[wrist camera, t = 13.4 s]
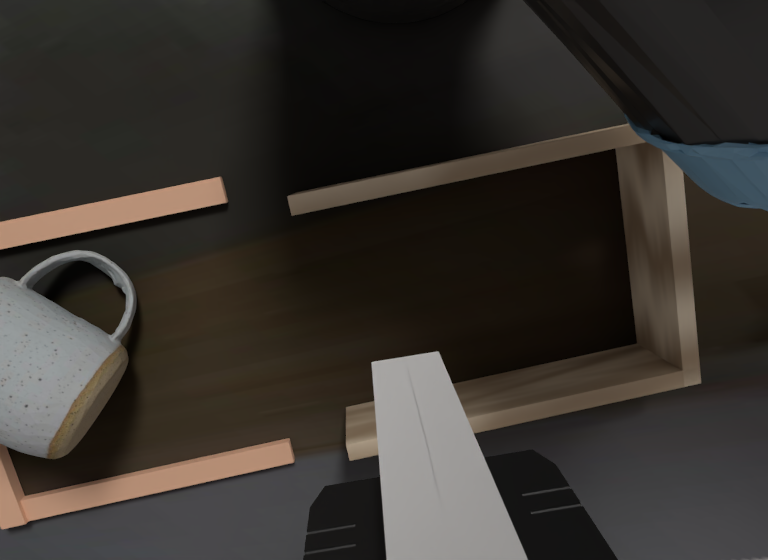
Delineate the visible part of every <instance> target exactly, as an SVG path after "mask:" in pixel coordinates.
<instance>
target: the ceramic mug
mask: <svg viewBox="0 0 768 560" xmlns="http://www.w3.org/2000/svg"><path fill="white" fill-rule="evenodd" d="M78 260H82V261H85V262H89V263H91V264H92V265H94V266H96V267H97V268H99V269H100V270H102V271H103V272H104V273H106V274H107V275H108V276H110V277H111V278H112V279H113V282H114V285H116V286H118V287H120V288H122V290H123V292H124V293H125V294H126V311H125V313H124V315H123V318H122V320H121V322H120V325H119V326H118V327H117V329H116V331H115V333H113V334H112V335H109V334H107V333H105V332H104V331H102V330H101V329H100V328H98V327H96V326H94V325H92V324H90V323H88V322H87V321H85V320H84V319H82V318H78V317H77V316H75V315H73V314H72V313H70V312H68V311H67V310H65V309H64V308H62V307H60V306H59V305H57V304H56V303H54V302H53V301H50V300H48V299H47V298H46V297H43V296H42V295H40V294H38V293H37V292H35V291H34V290H32V287H33V286H34V284H35V283H36V282H37V281H38V280H39V279H41V278H42V277H43V276H44V275H45V274H47V273H48V272H50V271H51V270H53V269H55V268H56V267H58V266H60V265H62V264H65V263H68V262H71V261H78ZM136 302H137V299H136V292H135V289H134V286H133V284H132V282H131V280H130V278H129V277H128V276H127V274H126V273H125V272H124V271H123V270H122V269H121V268H120V267H119V266H117V265H116V264H115V263H114V262H112V261H111V260H109V259H108V258H106V257H105V256H102V255H100V254H98V253H95V252H91V251H79V250H75V251H69V252H65V253H61V254H58V255H55V256H52V257H50V258H48V259H47V260H45V261H43V262H42V263H40V264H38V265H37V266H35V267H34V268H33V269H31V270H30V271H29V272H28V273H27V274H26V275H25V276H23V277H22V278H21V279H20V281H15V280H13V279H11V278H8V277H0V444H2V445H4V446H7V447H9V448H12V449H14V450H17V451H19V452H22V453H25V454H29V455H33V456H38V457H43V458H47V459H57V458H60V457H63V456H65V455H67V454H68V453H69V452H70V451H71V450H72V449H73V448H74V447H75V446H76V445H77V444H78V443H79V442H80V440H81V439H82V438H83V437H84V435H85V434H86V432H87V431H88V430H89V428H90V427H91V426H92V424H93V423H94V421H95V420H96V418H97V417H98V415H99V414H100V412H101V411H102V409H103V408H104V406H105V405H106V403H107V402H108V400H109V398H110V397H111V395H112V394H113V392H114V390H115V389H116V387H117V385H118V383H119V382H120V380H121V378H122V376H123V374H124V372H125V370H126V367H127V364H128V360H129V358H128V354H127V350H126V349H125V347H124V346H123V345H122V344H121V339H122V338H123V337H124V335H125V334H126V333H127V331H128V330H129V328H130V326H131V323H132V320H133V317H134V314H135V312H136Z"/></svg>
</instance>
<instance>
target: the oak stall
mask: <svg viewBox="0 0 768 560" xmlns="http://www.w3.org/2000/svg"><path fill="white" fill-rule="evenodd" d="M610 149H616V158H617V167H618V176H619V185H620V194H621V203H622V212H623V221H624V230H625V239H626V248H627V258H628V267H629V276H630V285H631V294H632V303H633V312H634V321H635V330H636V339H637V344H633V345H628V346H624V347H619V348H615V349H610V350H605V351H601V352H596V353H592V354H587V355H583V356H578V357H573V358H569V359H564V360H560V361H555V362H551V363H546V364H541V365H537V366H532V367H528V368H523V369H518V370H514V371H509V372H505V373H500V374H496V375H491V376H486V377H482V378H477V379H473V380H468V381H464V382H459V383H454V384H453V386H454V389H455V391H456V393H457V396H458V398H459V400H460V403H461V405H462V407H463V410H464V412H465V414H466V417H467V419H468V421H469V424H470V426H471V428H472V431H473V433H479V432H483V431H488V430H492V429H497V428H501V427H506V426H510V425H515V424H519V423H524V422H528V421H533V420H538V419H542V418H547V417H551V416H556V415H560V414H565V413H569V412H574V411H578V410H583V409H587V408H592V407H596V406H601V405H605V404H610V403H614V402H619V401H623V400H628V399H632V398H637V397H641V396H646V395H650V394H655V393H659V392H664V391H668V390H673V389H678V388H682V387H687V386H691V385H696V384H700V383H701V374H700V362H699V351H698V339H697V328H696V316H695V305H694V293H693V281H692V270H691V258H690V247H689V235H688V224H687V212H686V201H685V189H684V177H683V170H682V169H681V168H680V167H679V166H678V165H676V164H675V163H674V162H673V161H672V160H671V159H670V158H669V157H668V156H667V155H666V154H665V153H664V152H663V151H662V150H661V149H660V148H657V147H655V146H653V145H651V144H650V143H648V142H646V141H644V140H643V139H642V138H640V137H639V136H638V135H637V134H636V133H635V131H634V130H633V129H632V128H631V126H630V124H624V125H620V126H615V127H610V128H605V129H600V130H595V131H591V132H586V133H581V134H576V135H571V136H566V137H562V138H557V139H552V140H547V141H542V142H537V143H533V144H528V145H523V146H518V147H513V148H509V149H504V150H499V151H494V152H489V153H484V154H480V155H475V156H470V157H465V158H460V159H455V160H451V161H446V162H441V163H436V164H431V165H426V166H422V167H417V168H412V169H407V170H402V171H398V172H393V173H388V174H383V175H378V176H373V177H369V178H364V179H359V180H354V181H349V182H344V183H340V184H335V185H330V186H325V187H320V188H315V189H311V190H306V191H301V192H296V193H294V194H291V195H289V196H287V198H288V202H289V207H290V211H291V215H292V216H293V215H298V214H303V213H308V212H313V211H317V210H322V209H327V208H332V207H337V206H341V205H346V204H351V203H356V202H361V201H365V200H370V199H375V198H380V197H385V196H389V195H394V194H399V193H404V192H409V191H413V190H418V189H423V188H428V187H433V186H437V185H442V184H447V183H452V182H457V181H461V180H466V179H471V178H476V177H481V176H485V175H490V174H495V173H500V172H505V171H509V170H514V169H519V168H524V167H529V166H533V165H538V164H543V163H548V162H553V161H557V160H562V159H567V158H572V157H577V156H581V155H586V154H591V153H596V152H601V151H605V150H610ZM346 447H347V452H348V456H349V460H350V461H352V460H357V459H361V458H366V457H370V456H375V455H379V454H378V441H377V427H376V414H375V401H372V402H368V403H363V404H358V405H354V406H349V407H346Z"/></svg>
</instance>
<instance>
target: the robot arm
mask: <svg viewBox="0 0 768 560" xmlns="http://www.w3.org/2000/svg"><path fill="white" fill-rule="evenodd" d="M322 1H324V2H325V3H327V4H329V5H330V6H332V7H334V8H336V9H338V10H340V11H342V12H344V13H347V14H349V15H352V16H355V17H358V18H361V19H365V20H369V21H375V22H382V23H409V22H416V21H421V20H425V19H429V18H432V17H435V16H438V15H441V14H443V13H446V12H448V11H450V10H452V9H454V8H456V7H458V6H459V5H461V4H462V3H464V2H466V1H467V0H322ZM524 2H525V3H526V4H527V5H528V6H529V7H530V8H531V9H532V10H533V11H534V12H535V14H536V15H537V16H538V17H539V18H540V19H541V20H542V21H543V22H544V23H545V24H546V26H547V27H548V28H549V29H550V30H551V31H552V32H553V33H554V34H555V35H556V36H557V37H558V39H559V40H560V41H561V42H562V43H563V44H564V45H565V46H566V47H567V48H568V49H569V51H570V52H571V53H572V54H573V55H574V56H575V57H576V59H577V60H578V61H579V62H580V63H581V64H582V65H583V66H584V68H585V69H586V70H587V71H588V72H589V73H590V74H591V76H592V77H593V78H594V79H595V80H596V81H597V82H598V84H599V85H600V86H601V87H602V88H603V89H604V90H605V92H606V93H607V94H608V95H609V96H610V97H611V98H612V99H613V101H614V102H615V103H616V104H617V105H618V106H619V107H620V109H621V110H622V111H623V112H624V116H625V118H626V120H627V121H628V123H629V124H630V126H631V128H632V129H633V130H634V131H635V133H636V134H637V135H638V136H639V137H640V138H642V139H643V140H644V141H646V142H648V143H650V144H651V145H653V146H655V147H657V148H660V149H661V150H662V151H663V152H664V153H665V154H666V155H667V156H668V157H669V158H670V159H671V160H672V161H673V162H674V163H675V164H676V165H678V166H679V167H680V168H681V169H682V170H683V171H684V172H685V173H686V174H687V175H688V176H689V177H690V178H691V179H692V180H693V181H694V182H695V183H696V184H697V185H698V186H699V187H700V188H702V189H703V190H704V191H706V192H707V193H709V194H710V195H712V196H714V197H716V198H717V199H719V200H721V201H724V202H726V203H729V204H732V205H734V206H737V207H745V208H761V209H763V210H766V211H768V0H524ZM372 375H373V388H374V401H375V414H376V427H377V441H378V454H379V467H380V477H377V478H371V479H365V480H359V481H353V482H347V483H341V484H335V485H329V486H325V487H324V488H323V490H322V491H321V493H320V494H319V495H318V497H317V498H316V500H315V501H314V503H313V504H312V505H311V507H310V512H309V520H308V527H307V535H306V542H305V550H304V551H305V556H304V558H303V560H618V559H617V558H616V556H615V555H614V553H613V551H612V550H611V548H610V547H609V545H608V544H607V542H606V541H605V539H604V538H603V536H602V535H601V533H600V532H599V530H598V529H597V527H596V525H595V524H594V522H593V521H592V519H591V518H590V516H589V515H588V513H587V512H586V510H585V509H584V507H581V504H580V501H579V499H578V498H577V496H576V495H575V493H574V492H573V490H572V489H570V488H569V484H568V483H567V481H566V480H565V478H564V477H563V475H562V473H561V472H560V470H559V469H558V467H557V466H556V464H554V463H553V462H551V461H549V460H548V459H546V458H545V457H543V456H542V455H540V454H538V453H537V452H535V451H534V450H527V451H521V452H515V453H509V454H503V455H497V456H491V457H485V458H484V456H483V454H482V452H481V449H480V447H479V445H478V442H477V440H476V438H475V435H474V433H473V431H472V428H471V426H470V424H469V421H468V419H467V417H466V414H465V412H464V410H463V407H462V405H461V403H460V400H459V398H458V396H457V393H456V391H455V389H454V386H453V384H452V382H451V379H450V377H449V375H448V372H447V370H446V368H445V365H444V363H443V361H442V358H441V356H440V354H439V351H437V352H431V353H425V354H419V355H412V356H406V357H400V358H394V359H388V360H381V361H375V362H372Z"/></svg>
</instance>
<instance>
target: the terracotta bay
mask: <svg viewBox="0 0 768 560" xmlns="http://www.w3.org/2000/svg"><path fill="white" fill-rule="evenodd" d="M227 202H228V199H227V195H226V191H225V187H224V183H223V179H222V177H217V178H212V179H207V180H203V181H198V182H193V183H188V184H183V185H178V186H173V187H169V188H164V189H159V190H154V191H149V192H144V193H139V194H135V195H130V196H125V197H120V198H115V199H110V200H105V201H100V202H96V203H91V204H86V205H81V206H76V207H71V208H66V209H62V210H57V211H52V212H47V213H42V214H37V215H32V216H28V217H23V218H18V219H13V220H8V221H3V222H0V249H5V248H10V247H15V246H19V245H24V244H29V243H34V242H39V241H44V240H48V239H53V238H58V237H63V236H68V235H73V234H77V233H82V232H87V231H92V230H97V229H102V228H106V227H111V226H116V225H121V224H126V223H131V222H135V221H140V220H145V219H150V218H155V217H160V216H164V215H169V214H174V213H179V212H184V211H189V210H193V209H198V208H203V207H208V206H213V205H218V204H222V203H227ZM294 461H295V457H294V453H293V449H292V445H291V441H290V438H287V439H283V440H278V441H274V442H269V443H265V444H260V445H255V446H251V447H246V448H242V449H237V450H233V451H228V452H224V453H219V454H214V455H210V456H205V457H201V458H196V459H192V460H187V461H183V462H178V463H173V464H169V465H164V466H160V467H155V468H151V469H146V470H142V471H137V472H132V473H128V474H123V475H119V476H114V477H110V478H105V479H101V480H96V481H91V482H87V483H82V484H78V485H73V486H69V487H64V488H60V489H55V490H50V491H46V492H41V493H37V494H32V495H28V496H25V495H24V492H23V490H22V487H21V484H20V482H19V479H18V476H17V474H16V471H15V468H14V466H13V463H12V460H11V458H10V455H9V453H8V450H7V447H6V446H4V445H2V444H0V526H1V528H2V529H7V528H11V527H16V526H20V525H25V524H26V523H27V522H28V521H32V520H37V519H41V518H46V517H50V516H55V515H59V514H64V513H68V512H73V511H77V510H82V509H86V508H91V507H95V506H100V505H104V504H109V503H114V502H118V501H123V500H127V499H132V498H136V497H141V496H145V495H150V494H154V493H159V492H163V491H168V490H172V489H177V488H181V487H186V486H190V485H195V484H200V483H204V482H209V481H213V480H218V479H222V478H227V477H231V476H236V475H240V474H245V473H249V472H254V471H258V470H263V469H267V468H272V467H276V466H281V465H286V464H290V463H294Z"/></svg>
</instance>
